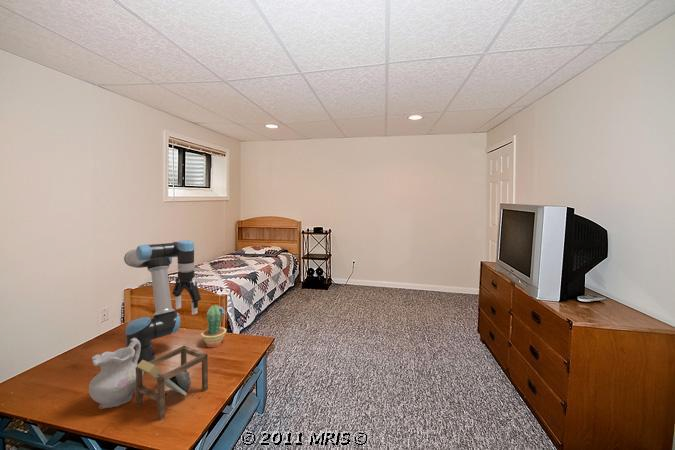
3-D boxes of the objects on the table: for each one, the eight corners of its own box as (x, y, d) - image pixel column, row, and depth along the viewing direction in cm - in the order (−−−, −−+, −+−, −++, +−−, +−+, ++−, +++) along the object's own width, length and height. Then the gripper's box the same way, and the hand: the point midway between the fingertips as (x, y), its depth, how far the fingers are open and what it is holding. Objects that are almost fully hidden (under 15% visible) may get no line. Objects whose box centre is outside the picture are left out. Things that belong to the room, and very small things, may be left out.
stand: (136, 405, 125) (135, 367, 124) (184, 378, 145) (184, 345, 144) (160, 420, 117) (159, 379, 116) (207, 389, 137) (207, 354, 136)
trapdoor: (133, 364, 121) (139, 358, 123) (165, 388, 134) (170, 382, 136) (152, 373, 115) (158, 366, 117) (184, 398, 128) (188, 391, 130)
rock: (170, 379, 126) (180, 365, 131) (158, 376, 130) (169, 362, 135) (189, 393, 133) (198, 379, 138) (177, 389, 137) (187, 376, 142)
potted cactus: (220, 350, 174) (220, 310, 173) (196, 349, 175) (195, 309, 173) (230, 338, 190) (230, 302, 188) (207, 338, 190) (207, 301, 189)
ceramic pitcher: (116, 386, 140) (110, 337, 138) (157, 381, 141) (151, 333, 140) (79, 418, 118) (72, 361, 117) (128, 413, 120) (121, 356, 118)
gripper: (164, 268, 148) (165, 308, 149) (194, 275, 136) (194, 318, 137) (178, 266, 154) (178, 304, 156) (208, 272, 142) (208, 313, 144)
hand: (186, 311), depth 146 cm, fingers open, 13 cm apart
